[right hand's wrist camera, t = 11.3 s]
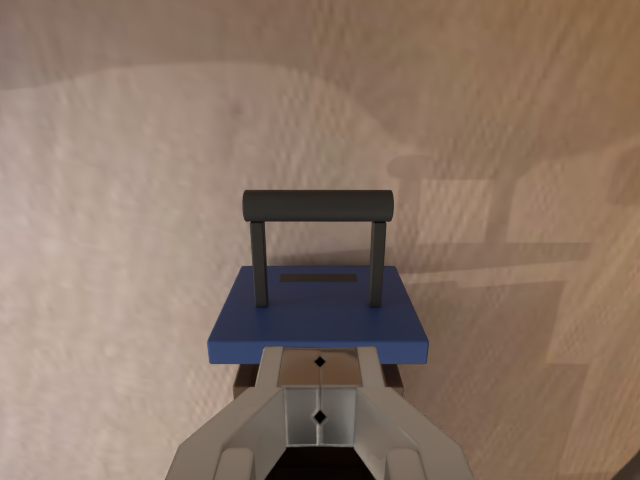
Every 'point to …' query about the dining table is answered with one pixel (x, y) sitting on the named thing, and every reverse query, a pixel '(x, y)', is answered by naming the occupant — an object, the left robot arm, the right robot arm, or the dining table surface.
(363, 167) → the dining table surface
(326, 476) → the drawer
